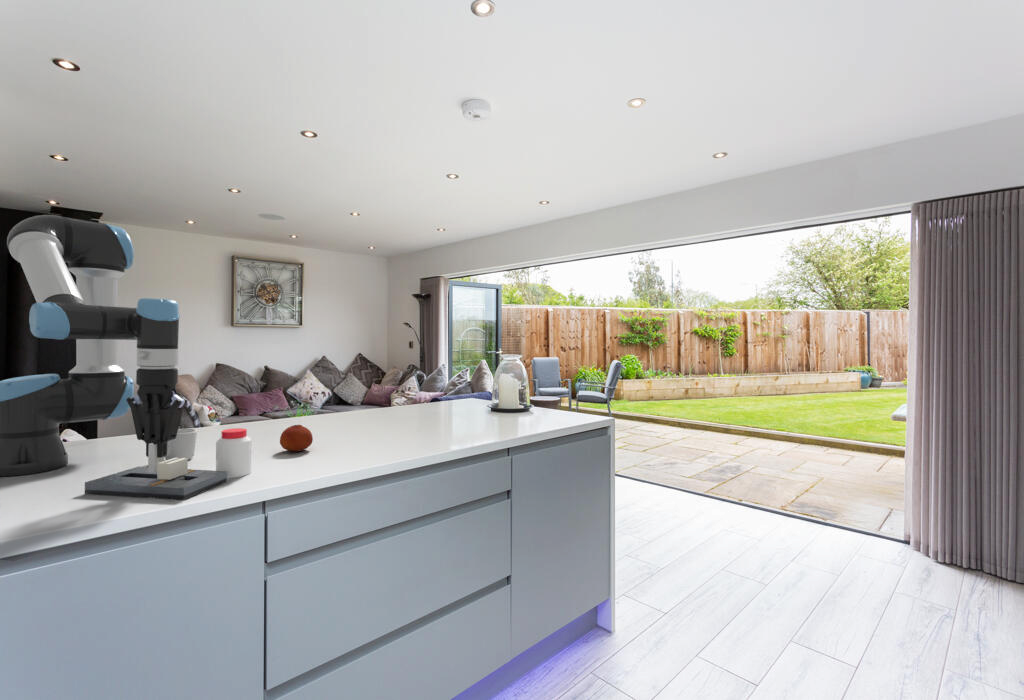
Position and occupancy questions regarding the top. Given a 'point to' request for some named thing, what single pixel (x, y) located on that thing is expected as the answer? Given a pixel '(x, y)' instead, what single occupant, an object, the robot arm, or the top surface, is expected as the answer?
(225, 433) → the pill bottle
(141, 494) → the console
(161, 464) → the fader
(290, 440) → the fruit
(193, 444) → the cup
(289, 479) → the top surface
